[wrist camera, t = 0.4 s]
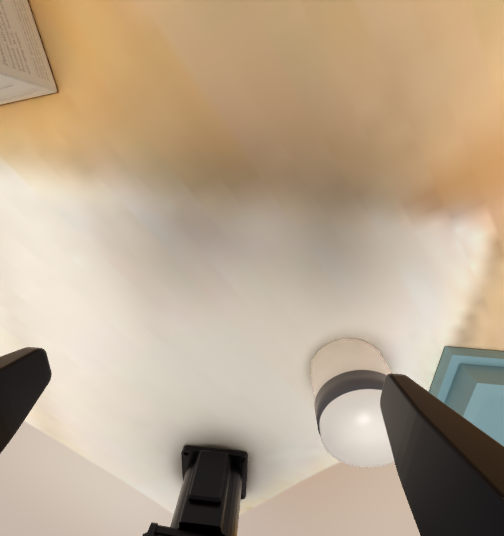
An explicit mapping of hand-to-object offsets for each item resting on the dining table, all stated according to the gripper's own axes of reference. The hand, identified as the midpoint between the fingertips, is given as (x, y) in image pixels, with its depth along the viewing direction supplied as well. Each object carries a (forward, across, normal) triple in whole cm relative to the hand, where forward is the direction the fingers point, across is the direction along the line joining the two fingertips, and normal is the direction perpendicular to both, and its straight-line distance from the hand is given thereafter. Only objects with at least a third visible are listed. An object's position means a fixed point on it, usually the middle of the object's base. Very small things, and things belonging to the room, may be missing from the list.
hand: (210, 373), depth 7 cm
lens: (+14, -8, +10) cm, 19 cm away
